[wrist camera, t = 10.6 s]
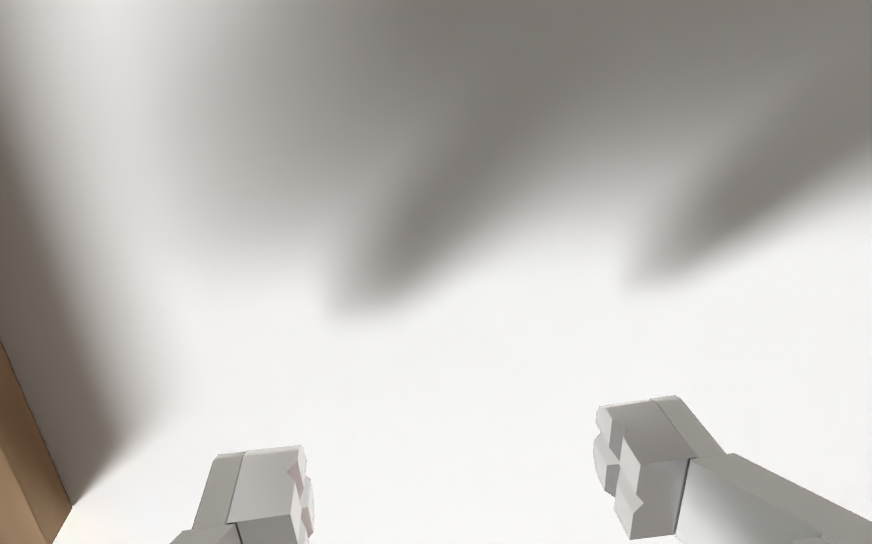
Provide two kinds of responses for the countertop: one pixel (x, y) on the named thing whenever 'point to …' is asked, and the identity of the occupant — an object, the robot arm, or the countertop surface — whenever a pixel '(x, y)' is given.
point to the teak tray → (26, 471)
